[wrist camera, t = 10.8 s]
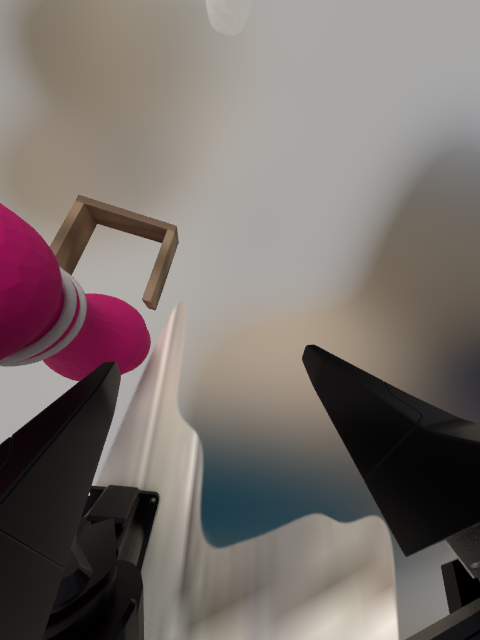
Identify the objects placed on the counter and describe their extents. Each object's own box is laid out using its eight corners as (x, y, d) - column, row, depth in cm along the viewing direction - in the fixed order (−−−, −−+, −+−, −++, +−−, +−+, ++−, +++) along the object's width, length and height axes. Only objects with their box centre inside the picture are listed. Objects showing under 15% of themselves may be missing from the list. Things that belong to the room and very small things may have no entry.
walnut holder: (155, 310, 22) (150, 301, 20) (56, 286, 21) (35, 272, 18) (178, 242, 25) (176, 225, 22) (92, 216, 24) (78, 194, 21)
